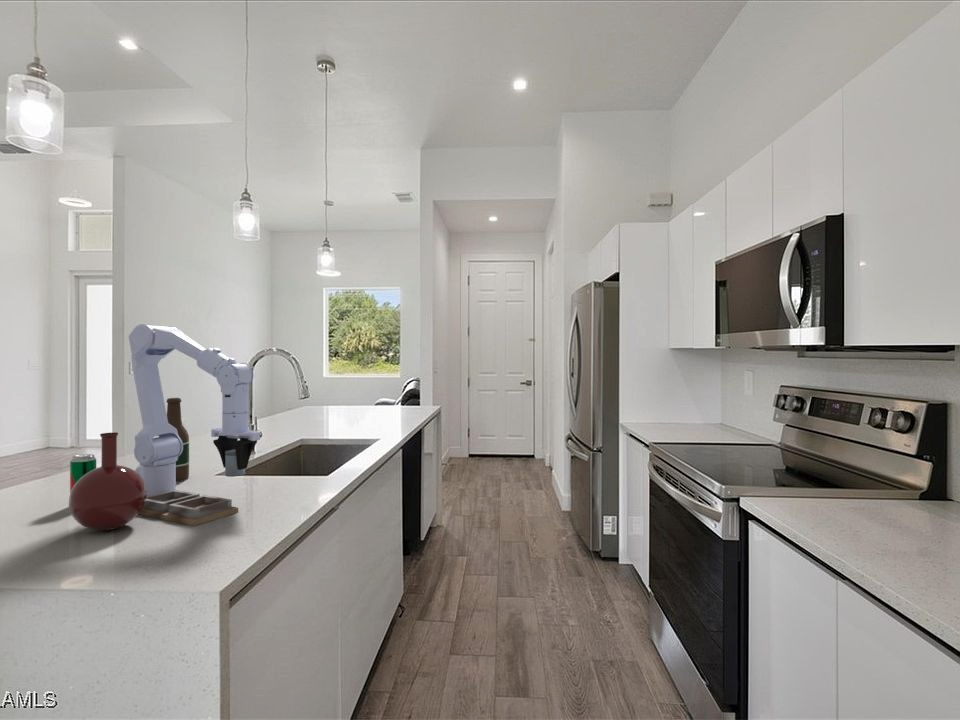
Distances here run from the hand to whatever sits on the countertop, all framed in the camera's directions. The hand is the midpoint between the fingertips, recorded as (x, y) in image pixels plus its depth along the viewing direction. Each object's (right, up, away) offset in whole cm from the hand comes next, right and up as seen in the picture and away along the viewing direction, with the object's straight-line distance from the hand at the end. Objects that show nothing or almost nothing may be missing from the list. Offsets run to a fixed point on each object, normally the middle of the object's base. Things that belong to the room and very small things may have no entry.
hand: (235, 467), depth 124 cm
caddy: (-9, -9, -7) cm, 14 cm away
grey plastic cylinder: (0, -2, 0) cm, 2 cm away
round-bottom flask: (-18, -9, -18) cm, 27 cm away
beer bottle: (-30, -9, +24) cm, 39 cm away
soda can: (-36, -9, -2) cm, 37 cm away
